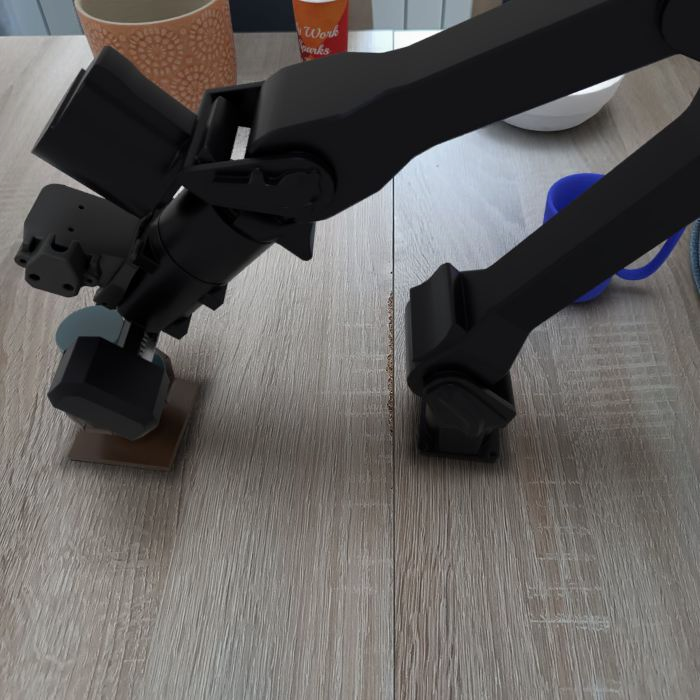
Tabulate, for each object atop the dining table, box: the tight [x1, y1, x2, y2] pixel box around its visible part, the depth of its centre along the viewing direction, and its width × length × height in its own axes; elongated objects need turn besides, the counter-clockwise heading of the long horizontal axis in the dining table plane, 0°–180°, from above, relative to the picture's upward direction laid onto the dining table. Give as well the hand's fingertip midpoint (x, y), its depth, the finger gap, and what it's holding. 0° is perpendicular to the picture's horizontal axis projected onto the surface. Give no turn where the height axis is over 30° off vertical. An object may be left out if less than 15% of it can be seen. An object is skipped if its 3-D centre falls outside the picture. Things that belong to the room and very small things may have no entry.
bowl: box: [502, 74, 626, 132], centre depth 81 cm, size 18×18×7 cm
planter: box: [73, 0, 238, 113], centre depth 80 cm, size 17×17×15 cm
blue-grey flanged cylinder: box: [54, 304, 167, 436], centre depth 50 cm, size 8×8×10 cm
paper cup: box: [291, 0, 350, 63], centre depth 84 cm, size 8×8×14 cm
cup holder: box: [64, 346, 201, 472], centre depth 54 cm, size 9×9×6 cm
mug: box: [542, 172, 688, 303], centre depth 61 cm, size 8×12×10 cm
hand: (84, 354), depth 49 cm, fingers open, 9 cm apart
